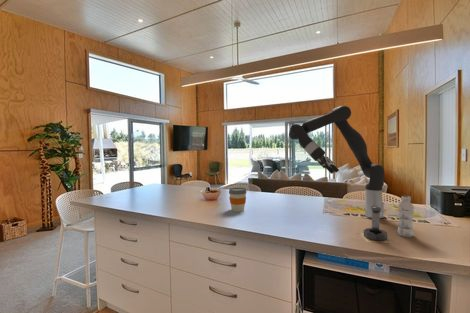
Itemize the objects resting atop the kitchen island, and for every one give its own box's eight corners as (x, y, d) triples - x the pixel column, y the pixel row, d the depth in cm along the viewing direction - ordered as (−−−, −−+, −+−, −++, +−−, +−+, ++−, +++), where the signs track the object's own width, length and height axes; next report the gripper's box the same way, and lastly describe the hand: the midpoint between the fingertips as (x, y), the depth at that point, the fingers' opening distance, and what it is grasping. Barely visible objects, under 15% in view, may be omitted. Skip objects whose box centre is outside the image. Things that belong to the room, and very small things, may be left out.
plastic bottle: (394, 235, 122) (394, 195, 121) (406, 234, 123) (407, 195, 122) (404, 240, 116) (404, 198, 115) (417, 239, 116) (418, 197, 116)
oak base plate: (381, 235, 122) (381, 233, 122) (395, 244, 110) (395, 242, 110) (356, 235, 123) (356, 233, 123) (368, 244, 111) (368, 242, 111)
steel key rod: (377, 236, 118) (378, 206, 118) (381, 239, 114) (382, 208, 114) (368, 235, 118) (369, 206, 118) (372, 239, 114) (373, 208, 114)
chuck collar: (380, 234, 120) (380, 228, 120) (390, 241, 111) (390, 234, 111) (361, 234, 121) (361, 228, 121) (370, 241, 112) (370, 234, 112)
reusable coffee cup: (249, 209, 177) (249, 188, 177) (240, 213, 167) (240, 191, 166) (235, 206, 184) (234, 187, 183) (225, 210, 173) (225, 189, 173)
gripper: (315, 146, 133) (337, 168, 126) (323, 146, 144) (344, 166, 137) (305, 156, 136) (326, 177, 129) (314, 155, 147) (334, 175, 141)
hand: (335, 172), depth 133 cm, fingers open, 8 cm apart
